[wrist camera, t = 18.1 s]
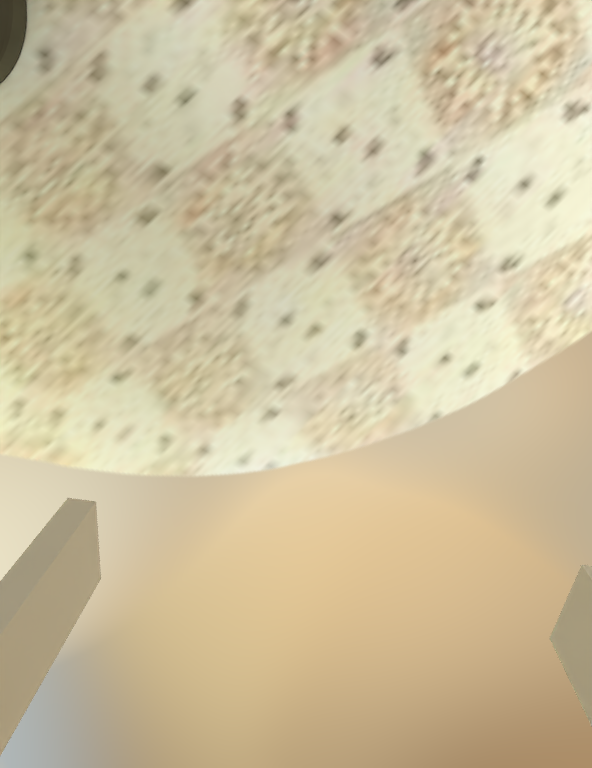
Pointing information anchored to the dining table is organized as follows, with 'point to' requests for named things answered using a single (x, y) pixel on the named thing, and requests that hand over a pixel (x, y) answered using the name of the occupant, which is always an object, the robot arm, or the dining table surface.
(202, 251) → the dining table surface
